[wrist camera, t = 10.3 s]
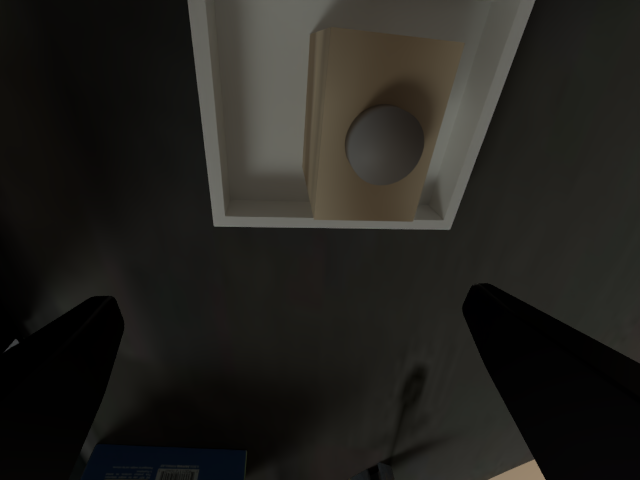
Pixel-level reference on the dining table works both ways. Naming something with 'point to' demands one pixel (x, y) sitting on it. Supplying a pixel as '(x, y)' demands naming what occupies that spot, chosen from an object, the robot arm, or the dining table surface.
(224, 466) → the protein box
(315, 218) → the brown block
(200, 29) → the housing tray
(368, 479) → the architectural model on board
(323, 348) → the dining table surface
